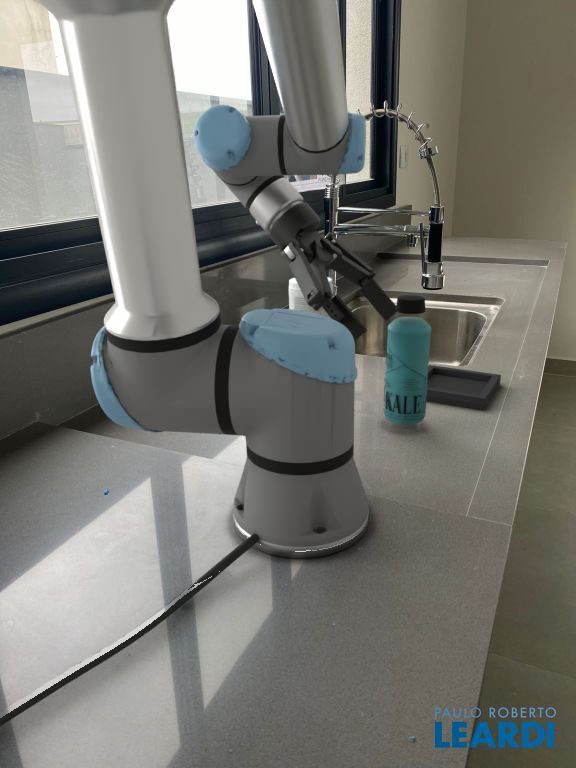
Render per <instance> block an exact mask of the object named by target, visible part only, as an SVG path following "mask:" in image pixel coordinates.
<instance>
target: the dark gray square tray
mask: <svg viewBox="0 0 576 768" xmlns="http://www.w3.org/2000/svg"><path fill="white" fill-rule="evenodd" d="M501 377H502V374H498V373H490V372H483V371H477V370H469V369H462V368H455V367H447V366H442V365H441V366H440V365H434V364H428V382H427V384H428V385H427V392H428V393H427V397H426V400H427V401H426V402H433V403H440V404H445V405H450V406H457V407H463V408H469V409H474V410H475V409H476V410H481V411H485V410H486V408H487V406H488V405H489V403H490V401H491V400H492V398H493V397H494V396H495V394H496V392H497V390H498V389H499V387H500V386H501V379H502V378H501ZM427 398H428V399H427Z"/></svg>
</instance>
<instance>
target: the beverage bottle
mask: <svg viewBox="0 0 576 768" xmlns="http://www.w3.org/2000/svg"><path fill="white" fill-rule="evenodd" d="M395 305H396V311H397V312H396V313H399V314H404V315H420V314H424V313H426V298H425V296H422V295H418V294H404V295H399V296H397V299H396V304H395ZM431 335H432V327H431V325H430V324H429V323H428V322H427V321H426V319H424V318H421V317H417V316H399V317H397V318H395V319H393V320H392V321H391V322H390V323H389V324H388V325H387V339H386V340H387V342H386V343H385V347H386V350H385V360H384V361H385V362H384V364H385V378H383V379H384V382H383V383H384V389H383V408H382V409H383V414H384V417H385V419H386V420H388V421H390V422H392V423H395V424H400V425H414V424H415V425H416V424H418V423H421V422H423V421H424V419H425V418H426V413H427V408H428V405H427V404H428V403H427V402H428V401H427V400H426V397H427V393H428V392H427V385H428V384H427V382H428V366H429V361H430V349H431ZM427 399H428V398H427Z"/></svg>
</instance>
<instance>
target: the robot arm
mask: <svg viewBox="0 0 576 768" xmlns="http://www.w3.org/2000/svg"><path fill="white" fill-rule="evenodd" d="M36 1H37V2H38V3H39V4H40V5H41V6H42V7H44V8H45V9H46V10H47V11H49V12H50V13H51V14H52V16H54V18H55V20H56V21H57V24H58V28H59V32H60V33H59V34H60V38H61V42H62V47H63V53H64V57H65V61H66V67H67V72H68V77H69V81H70V85H71V86H70V87H71V91H72V96H73V101H74V105H75V111H76V116H77V121H78V125H79V126H78V127H79V131H80V134H81V141H82V144H83V145H82V146H83V150H84V154H85V155H84V156H85V159H86V165H87V169H88V170H87V171H88V175H89V179H90V184H91V188H92V194H93V197H94V203H95V208H96V213H97V218H98V223H99V227H100V232H101V237H102V243H103V247H104V252H105V257H106V261H107V267H108V272H109V277H110V281H111V286H112V292H113V296H114V300H115V301H114V304H113V305H112V306H111V307H110V309H109V310H108V311H107V312H106V313H105V315H104V318H103V326H102V327H101V328H100V329H99V330H98V332H97V333H96V335H95V337H94V340H93V342H92V346H91V352H90V358H91V359H92V361H93V363H92V365H90V377H91V384H92V387H93V391H94V394H95V397H96V400H97V402H98V403H99V406H100V408H101V409H102V410H103V413H104V414H105V415H106V416H107V417H108V418H109V419H110V420H111V421H112V422H114V423H115V424H117V425H119V426H120V427H123V428H127V429H134V430H143V431H145V432H150V433H156V434H158V433H163V432H168V433H169V432H170V433H188V434H189V433H190V434H211V435H226V436H242V437H245V445H246V447H245V448H246V449H245V450H246V460H245V463H244V467H243V470H242V472H241V476H240V480H239V483H238V486H237V489H236V492H235V494H234V495H235V496H234V498H233V504H232V505H233V507H232V520H233V521H232V522H233V526H234V530H235V532H236V533H237V536H239V538H240V539H241V540H242V541H243V542H241V543H240V544H238V545H237V546H236V547H235V548H234V549H233V550H232V551H230V552H229V553H228V554H227V555H225V556H224V557H223V558H222V559H221V560H219V561H218V562H217V563H216V564H215V565H213V566H212V567H211V568H210V569H209V570H208V571H206V572H205V573H204V574H203V575H202V576H200V577H199V578H198V579H196V581H197V582H196V581H194V582H195V583H194V582H193V583H194V584H197V583H200V582H203V581H204V580H206V579H207V580H206V581H204V582H203V583H201V584H200V585H198V586H197V587H196V588H194V589H193V590H192V591H190V592H189V593H187V594H186V595H184V596H183V597H182V598H181V599H179V600H178V601H177V602H176V603H175V604H174V605H172V606H171V607H170V608H169V609H168V610H167V611H166V612H164V613H163V614H162V615H161V616H160V617H158V618H157V619H156V620H154V621H153V622H152V623H151V624H149V625H148V626H146V627H145V628H144V629H142V630H141V631H139V632H138V633H137V634H135V635H134V636H132V637H131V638H129V639H128V640H126V641H125V642H123V643H121V644H120V645H118V646H117V647H115V648H114V649H112V650H110V651H109V652H107V653H105V654H104V655H102V656H100V657H99V658H97V659H95V660H94V661H92V662H90V663H89V664H87V665H85V666H84V667H82V668H80V669H79V670H77V671H75V672H74V673H72V674H71V675H69V676H67V677H66V678H64V679H62V680H61V681H59V682H58V683H56V684H54V685H53V686H51V687H50V688H48V689H46V690H45V691H43V692H42V693H40V694H38V695H37V696H35V697H34V698H32V699H30V700H29V701H27V702H26V703H24V704H22V705H21V706H19V707H18V708H16V709H14V710H13V711H11V712H10V713H8V714H6V715H5V716H3V717H2V718H0V727H2V726H4V725H5V724H7V723H8V722H9V721H11V720H12V719H15V718H16V717H18V716H19V715H21V714H22V713H24V712H25V711H27V710H28V709H30V708H32V707H33V706H35V705H37V704H38V703H39V702H41V701H43V700H45V699H46V698H47V697H49V696H51V695H52V694H53V693H56V692H57V691H59V690H60V689H62V688H63V687H65V686H67V685H69V683H71V682H73V681H75V680H77V679H78V678H79V677H82V676H83V675H85V674H86V673H87V672H89V671H91V670H92V669H94V668H96V667H98V666H99V665H102V663H104V662H106V661H108V660H109V659H110V658H112V657H114V656H115V655H118V653H120V652H121V651H123V650H125V649H127V647H129V646H131V645H132V644H134V643H135V642H136V641H138V640H139V639H141V638H143V637H144V636H145V635H147V634H148V633H149V632H150V631H152V630H153V629H155V628H156V627H157V626H159V625H160V624H161V623H162V622H164V621H166V620H167V619H168V618H169V617H170V616H171V615H173V614H174V613H175V612H176V611H178V610H179V609H180V608H181V607H182V606H184V605H185V604H186V603H187V602H188V601H189V600H191V599H192V598H193V597H194V596H196V594H198V593H199V592H200V591H201V590H203V589H204V588H205V587H206V586H207V585H209V584H210V583H211V582H212V581H213V580H214V579H216V578H217V577H218V576H220V574H222V573H223V572H224V571H225V570H227V568H229V566H231V565H232V564H233V563H234V562H236V561H237V560H238V559H239V558H240V557H242V556H243V555H244V554H245V553H247V551H249V550H250V549H251V548H254V549H256V550H258V551H261V552H263V553H265V554H269V555H273V556H278V557H284V558H290V559H291V558H293V559H296V558H297V559H309V558H319V557H324V556H328V555H332V554H335V553H338V552H340V551H343V550H346V549H348V548H349V547H351V546H352V545H354V544H355V543H357V542H358V541H359V540H360V539H361V538H362V537H363V536H364V534H365V533H366V531H367V529H368V527H369V526H368V525H369V520H370V519H369V517H370V516H369V515H370V514H369V513H370V508H369V501H368V497H367V494H366V491H365V488H364V485H363V482H362V479H361V476H360V472H359V470H358V467H357V463H356V461H355V458H354V457H355V455H354V454H355V453H354V452H355V451H354V447H355V393H356V392H355V386H356V385H355V384H356V383H355V382H356V380H357V379H358V368H357V366H356V365H357V364H356V344H355V342H357V340H358V339H359V338H361V337H362V336H363V335H364V334H365V333H366V332H367V331H368V329H367V328H366V327H365V325H364V324H363V323H362V322H361V321H360V320H359V318H358V317H357V316H356V315H355V314H354V312H353V311H352V310H351V308H350V307H349V306H348V305H347V304H346V302H344V300H343V299H342V298H341V297H340V296H339V295H338V294H335V295H334V293H333V294H332V291H331V288H330V284H329V281H328V278H327V277H328V275H327V272H326V270H333V271H334V272H336V273H338V274H339V275H340V276H342V277H344V278H345V279H347V280H349V282H352V283H353V284H355V285H357V287H360V289H359V292H360V293H361V295H363V296H364V297H365V299H366V300H367V301H368V302H369V304H371V306H372V307H373V308H374V309H375V310H376V313H378V314H379V315H380V317H381V318H382V319H383V320H384V321H385V322H387V321H388V320H390V319H391V318H392V317H393V316H394V315H395V314H397V313H398V312H397V311H396V305H397V304H395V302H394V301H393V300H392V298H391V297H389V295H388V294H387V293H386V292H385V291H384V289H383V288H382V287H381V286H380V285H379V283H378V282H377V281H376V280H375V279H374V278H375V277H376V276H377V273H378V272H376V270H375V269H374V268H372V267H371V266H370V265H369V264H367V263H366V262H365V261H364V260H362V258H360V257H359V256H358V255H356V254H355V253H354V252H353V251H352V250H350V248H348V247H347V246H346V245H344V244H343V242H341V241H340V240H339V238H337V237H336V236H335V235H334V233H332V232H330V231H329V232H328V233H327V234H326V235H325V236H323V234H321V233H320V232H319V227H320V225H321V217H319V215H318V214H317V213H316V212H315V210H314V209H313V208H312V207H311V205H309V203H308V202H304V197H303V196H302V195H301V193H300V192H299V191H298V190H297V189H296V188H295V187H294V186H293V184H292V183H291V182H290V180H289V179H287V178H286V177H285V176H333V177H334V176H335V177H338V176H339V175H340V176H341V175H353V174H359V173H360V172H361V171H363V169H364V167H365V163H366V148H367V147H366V143H367V123H366V118H365V115H363V114H362V113H360V112H350V111H348V110H349V109H348V99H347V90H346V80H345V79H346V78H345V68H344V57H343V47H342V36H341V26H340V15H339V4H338V0H252V5H253V8H254V11H255V14H256V18H257V22H258V25H259V29H260V32H261V35H262V39H263V43H264V46H265V50H266V55H267V57H268V61H269V64H270V68H271V72H272V75H273V79H274V82H275V85H276V90H277V94H278V96H279V99H280V103H281V107H282V110H283V114H280V115H276V114H275V115H245V114H244V113H242V112H241V111H240V110H239V109H237V108H235V107H233V106H231V105H228V104H217V105H214V106H211V107H210V108H208V109H206V110H205V111H204V112H203V113H202V114H201V115H200V116H199V118H198V119H197V120H196V124H195V125H194V126H195V127H194V130H193V131H194V132H193V142H194V145H195V148H196V150H197V152H198V153H199V155H200V157H201V159H202V161H203V162H204V164H205V166H207V167H208V168H209V169H211V170H212V171H213V172H214V174H216V177H218V178H219V179H220V180H221V182H223V184H224V185H225V186H226V187H227V188H228V190H229V191H230V192H231V193H232V194H233V195H234V196H235V197H236V199H237V200H238V201H239V202H240V203H241V204H242V205H243V207H244V208H245V210H247V212H248V213H249V214H250V215H251V216H252V218H253V219H254V220H255V223H256V225H257V226H260V227H261V228H262V230H264V232H266V233H269V238H270V239H271V240H272V242H273V243H274V244H275V245H276V246H277V248H278V249H279V251H281V253H280V255H281V257H282V258H283V260H284V261H285V262H286V263H287V265H288V267H289V268H290V270H291V272H292V275H293V278H295V279H296V281H297V283H298V285H299V287H300V289H301V292H302V294H303V296H304V298H305V300H306V302H307V304H308V305H309V306H311V307H312V308H313V309H314V310H316V311H318V310H319V309H320V308H321V307H323V309H324V310H325V311H326V313H327V314H328V315H329V316H330V317H331V318H328V317H326V316H323V315H319V314H315V313H311V312H306V311H300V310H292V309H289V308H272V309H268V308H259V309H253V310H251V311H248V312H246V313H245V314H243V316H242V317H241V320H240V322H239V324H238V325H237V324H235V325H234V324H223V323H222V318H221V310H220V305H219V303H218V301H217V300H216V299H215V298H213V297H212V296H211V295H209V294H208V293H207V292H205V291H204V290H203V285H202V279H201V270H200V263H199V255H198V248H197V239H196V231H195V223H194V215H193V207H192V199H191V192H190V184H189V176H188V167H187V166H188V165H187V160H186V151H185V144H184V135H183V127H182V120H181V119H182V118H181V112H180V104H179V96H178V89H177V88H178V87H177V80H176V74H175V73H176V71H175V65H174V64H175V63H174V55H173V49H172V41H171V32H170V24H169V15H170V11H171V9H172V8H173V6H174V5H175V3H176V2H177V0H36ZM311 293H313V294H312V295H311ZM332 296H333V298H331V297H332ZM234 522H235V523H234ZM366 523H367V524H366ZM235 524H236V525H235ZM365 525H366V526H365ZM236 526H237V527H236ZM364 526H365V527H364ZM363 528H364V529H363ZM362 529H363V530H362ZM239 530H240V531H241V532H242V533H243V534H244V535H243V534H242V533H241V532H240V531H239ZM361 530H362V531H361ZM360 531H361V532H360ZM359 532H360V533H359ZM358 533H359V534H358ZM357 534H358V535H357ZM355 535H357V536H355ZM353 536H355V537H354V538H353V539H351V540H349V541H347V542H345V543H343V541H346V540H348V539H350V538H352V537H353ZM247 537H248V538H247ZM340 543H343V544H341V545H338V546H335V547H332V546H334V545H337V544H340ZM260 544H261V545H260ZM330 546H331V547H332V548H328V547H330ZM323 548H328V549H323ZM319 549H323V550H319ZM306 550H311V551H306ZM312 550H317V551H312ZM295 551H306V552H295ZM219 571H220V572H219ZM211 576H212V577H211ZM209 577H211V578H209ZM208 578H209V579H208ZM193 583H192V584H193ZM192 584H191V585H192ZM194 584H193V585H192V586H191V585H190V586H191V587H190V588H192V587H194V586H195V585H194ZM190 588H189V589H190ZM189 589H188V590H189ZM180 594H181V593H179V594H178V595H177V596H179V595H180ZM174 599H175V598H173V599H172V600H174Z"/></svg>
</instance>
